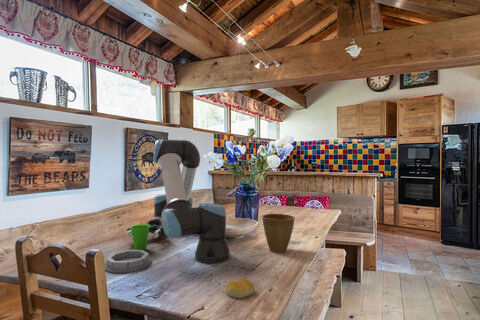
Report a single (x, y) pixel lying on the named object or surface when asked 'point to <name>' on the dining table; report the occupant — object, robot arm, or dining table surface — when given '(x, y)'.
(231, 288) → the bread roll
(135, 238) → the cup
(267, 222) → the plant pot
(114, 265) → the ring
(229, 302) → the dining table surface
